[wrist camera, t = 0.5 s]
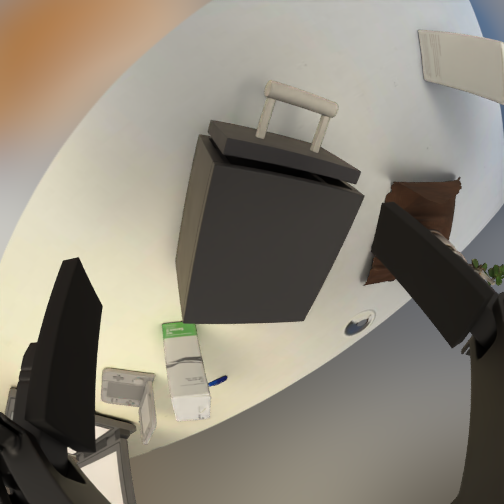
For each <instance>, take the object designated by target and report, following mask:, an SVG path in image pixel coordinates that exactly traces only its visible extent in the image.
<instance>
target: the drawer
mask: <svg viewBox="0 0 504 504" xmlns="http://www.w3.org/2000/svg"><path fill="white" fill-rule="evenodd" d="M264 95H265V96H266V97H267V98H266V102H265V105H264V108H263V112H262V115H261V118H260V122H259V125H258V128H257V129H253V128H249V127H244V126H239V125H235V124H230V123H224V122H219V121H214V120H211V121H210V125H209V129H208V133H209V134H210V136H211V137H212V139H213V140H214V142H215V143H216V145H217V146H218V148H219V149H217V148H215V149H216V151H217V152H218V154H219V156H220V157H221V159H222V160H223V162H224V163H227V164H233V165H239V166H245V167H250V168H256V169H261V170H266V171H271V172H276V173H281V174H286V175H291V176H296V177H300V178H305V179H309V180H314V181H318V182H322V183H326V182H325V181H324V180H323V179H321V178H320V177H319V176H317V175H316V174H319V175H323V176H327V177H331V178H334V179H338V180H342V181H346V182H349V183H353V184H356V183H357V181H358V178H359V176H360V173H361V171H359V170H358V169H356V168H354V167H353V166H351V165H350V164H348V163H347V162H345V161H343V160H342V159H340V158H338V157H337V156H335V155H333V154H332V153H330V152H328V151H327V150H325V149H323V148H321V144H322V141H323V138H324V135H325V132H326V129H327V126H328V123H329V121H330V118H333V117H335V116H336V114H337V112H338V105H337V103H335V102H332V101H330V100H327V99H325V98H322V97H319V96H317V95H314V94H311V93H309V92H306V91H303V90H300V89H297V88H294V87H291V86H288V85H285V84H282V83H279V82H276V81H272V80H270V81H269V82H268V83H267V85H266V87H265V91H264ZM275 99H276V100H279V101H282V102H286V103H289V104H292V105H295V106H298V107H302V108H305V109H308V110H311V111H313V112H316V113H319V114H322V115H321V118H320V121H319V124H318V127H317V130H316V133H315V136H314V139H313V142H312V144H311V143H308V142H304V141H301V140H297V139H293V138H290V137H286V136H282V135H278V134H274V133H270V132H266V131H267V128H268V124H269V121H270V118H271V115H272V111H273V108H274V105H275V102H276V100H275ZM326 184H328V183H326Z"/></svg>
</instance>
